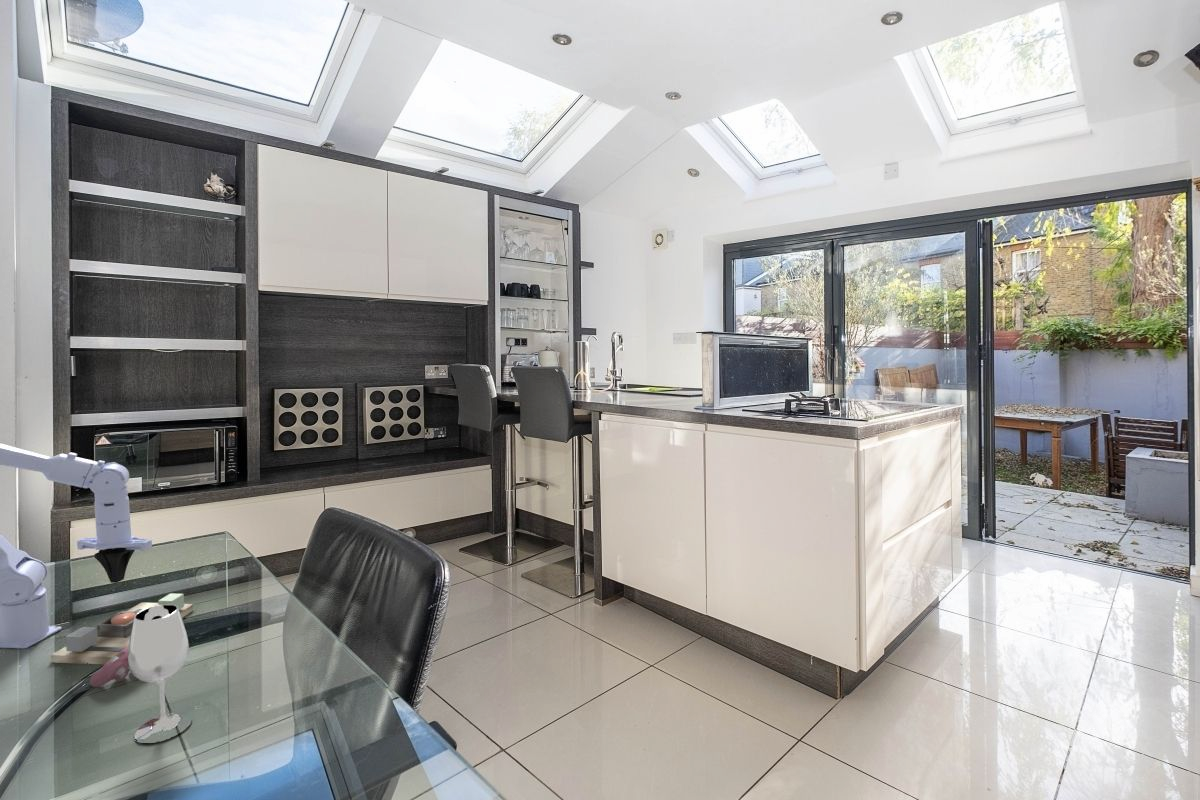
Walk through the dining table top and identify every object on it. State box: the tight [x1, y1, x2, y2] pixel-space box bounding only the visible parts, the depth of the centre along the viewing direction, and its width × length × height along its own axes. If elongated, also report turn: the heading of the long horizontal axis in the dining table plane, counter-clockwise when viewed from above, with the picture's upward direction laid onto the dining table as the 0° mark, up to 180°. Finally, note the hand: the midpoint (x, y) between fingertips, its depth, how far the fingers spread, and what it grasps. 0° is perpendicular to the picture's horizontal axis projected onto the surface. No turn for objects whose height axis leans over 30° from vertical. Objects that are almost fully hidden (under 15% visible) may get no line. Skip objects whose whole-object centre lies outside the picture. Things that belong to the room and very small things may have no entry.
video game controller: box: [89, 646, 130, 688], centre depth 109 cm, size 10×5×7 cm
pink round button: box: [111, 613, 136, 625], centre depth 122 cm, size 4×4×2 cm
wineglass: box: [128, 604, 190, 740], centre depth 94 cm, size 8×8×20 cm
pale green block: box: [157, 593, 185, 610], centre depth 129 cm, size 3×4×3 cm
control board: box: [50, 602, 195, 665], centre depth 123 cm, size 12×22×4 cm, turn 179°
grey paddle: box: [64, 626, 98, 652], centre depth 114 cm, size 3×4×3 cm
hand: (117, 580), depth 127 cm, fingers closed
